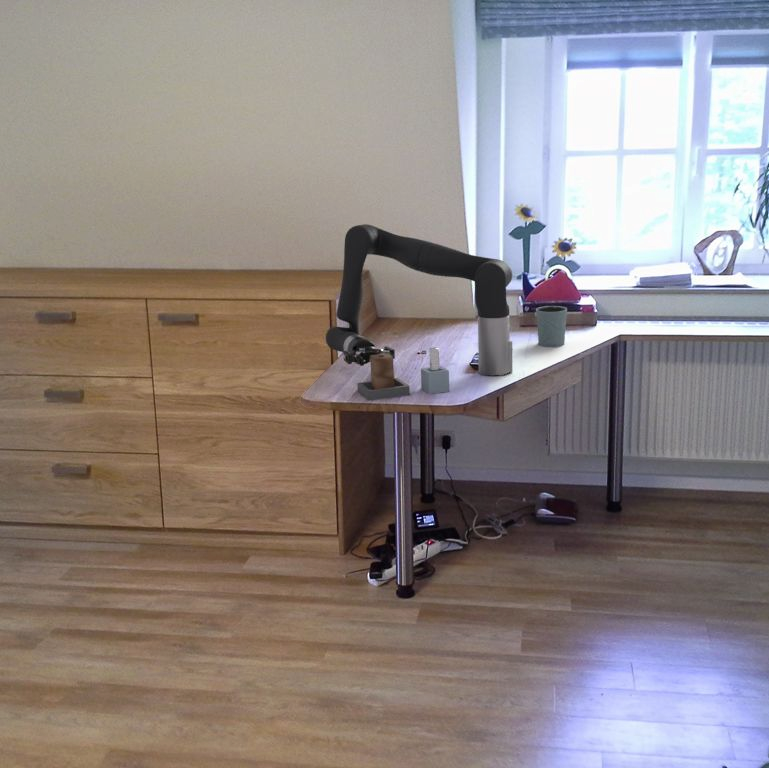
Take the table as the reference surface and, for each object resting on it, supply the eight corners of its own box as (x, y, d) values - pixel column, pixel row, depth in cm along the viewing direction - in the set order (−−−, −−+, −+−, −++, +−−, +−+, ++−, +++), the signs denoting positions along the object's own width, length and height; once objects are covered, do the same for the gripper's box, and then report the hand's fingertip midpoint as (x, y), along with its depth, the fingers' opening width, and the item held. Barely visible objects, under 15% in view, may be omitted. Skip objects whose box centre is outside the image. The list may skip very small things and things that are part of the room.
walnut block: (388, 387, 261) (387, 352, 258) (394, 391, 256) (393, 356, 254) (371, 389, 259) (370, 354, 257) (377, 394, 255) (375, 358, 252)
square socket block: (441, 386, 262) (440, 365, 261) (449, 391, 257) (448, 370, 255) (421, 388, 260) (420, 368, 259) (429, 394, 255) (428, 373, 253)
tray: (397, 386, 264) (397, 377, 264) (409, 394, 255) (409, 385, 255) (357, 391, 261) (357, 382, 260) (368, 400, 252) (368, 391, 251)
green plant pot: (566, 340, 312) (567, 305, 308) (566, 347, 302) (567, 311, 299) (536, 340, 313) (536, 306, 310) (535, 347, 304) (535, 311, 301)
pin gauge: (437, 388, 260) (436, 347, 257) (441, 390, 258) (440, 348, 255) (429, 389, 259) (428, 348, 256) (432, 391, 257) (431, 350, 254)
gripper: (335, 339, 271) (352, 350, 256) (381, 334, 275) (400, 344, 261) (336, 364, 273) (353, 376, 258) (382, 358, 277) (401, 370, 263)
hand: (377, 360), depth 259 cm, fingers open, 8 cm apart
